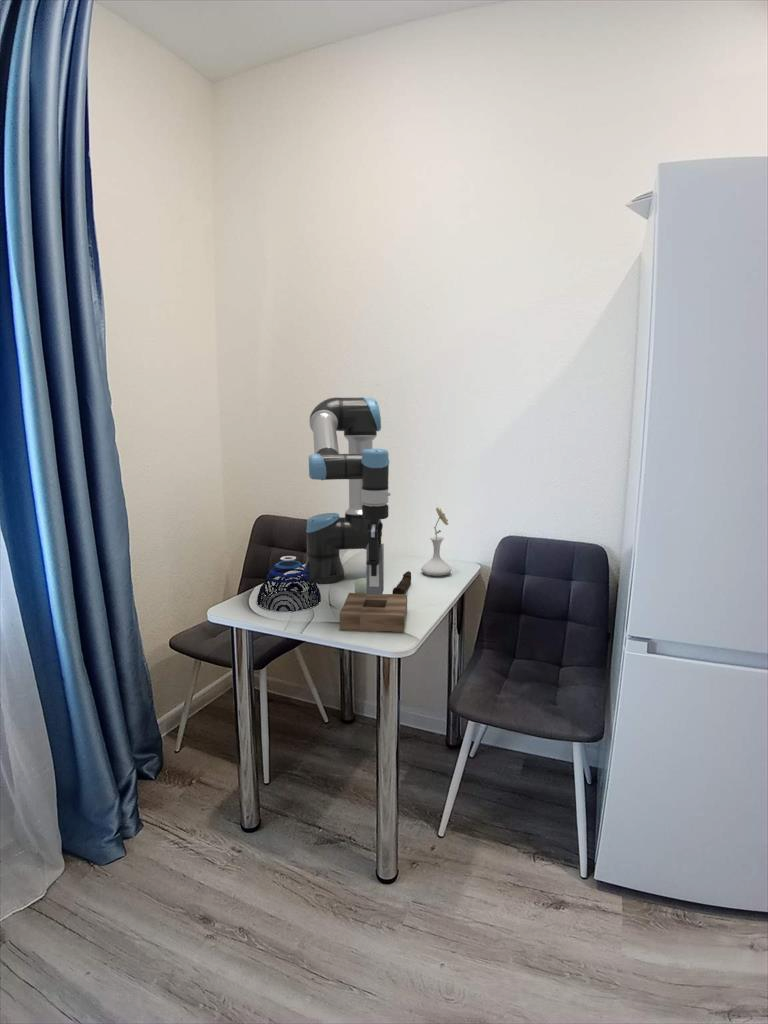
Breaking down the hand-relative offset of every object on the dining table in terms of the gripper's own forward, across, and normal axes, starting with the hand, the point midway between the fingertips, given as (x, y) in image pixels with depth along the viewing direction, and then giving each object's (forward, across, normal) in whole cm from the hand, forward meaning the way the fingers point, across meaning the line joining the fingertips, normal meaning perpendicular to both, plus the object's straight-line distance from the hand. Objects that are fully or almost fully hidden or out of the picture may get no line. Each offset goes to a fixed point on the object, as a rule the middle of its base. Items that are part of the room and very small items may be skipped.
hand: (375, 583), depth 165 cm
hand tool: (+11, +30, -6) cm, 32 cm away
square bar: (+3, 0, 0) cm, 3 cm away
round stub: (+11, +15, +4) cm, 19 cm away
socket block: (+11, 0, 0) cm, 11 cm away
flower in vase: (+11, +50, -18) cm, 54 cm away
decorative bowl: (+11, +14, +29) cm, 34 cm away
